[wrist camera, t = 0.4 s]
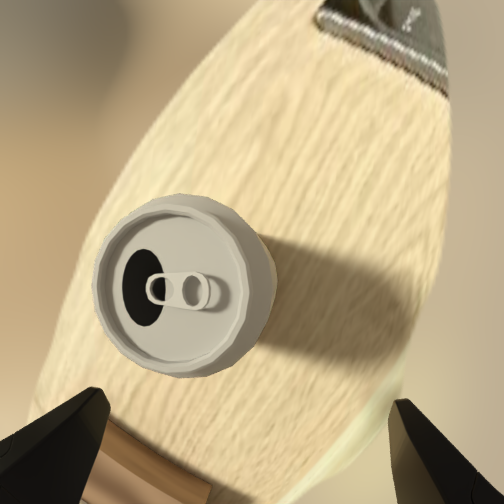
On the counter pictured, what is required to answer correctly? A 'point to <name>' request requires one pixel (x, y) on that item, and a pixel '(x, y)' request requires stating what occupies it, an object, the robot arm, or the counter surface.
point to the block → (138, 475)
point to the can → (183, 286)
